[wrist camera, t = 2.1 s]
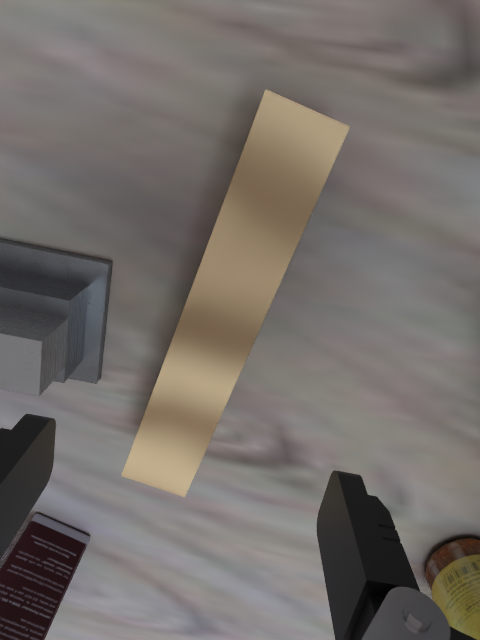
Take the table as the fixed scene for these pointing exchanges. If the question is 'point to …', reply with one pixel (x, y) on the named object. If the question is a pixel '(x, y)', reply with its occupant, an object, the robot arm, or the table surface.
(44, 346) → the fulcrum
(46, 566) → the supplement box
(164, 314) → the table surface
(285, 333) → the table surface
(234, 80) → the table surface
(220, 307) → the oak bar
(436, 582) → the sauce bottle
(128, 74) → the table surface
